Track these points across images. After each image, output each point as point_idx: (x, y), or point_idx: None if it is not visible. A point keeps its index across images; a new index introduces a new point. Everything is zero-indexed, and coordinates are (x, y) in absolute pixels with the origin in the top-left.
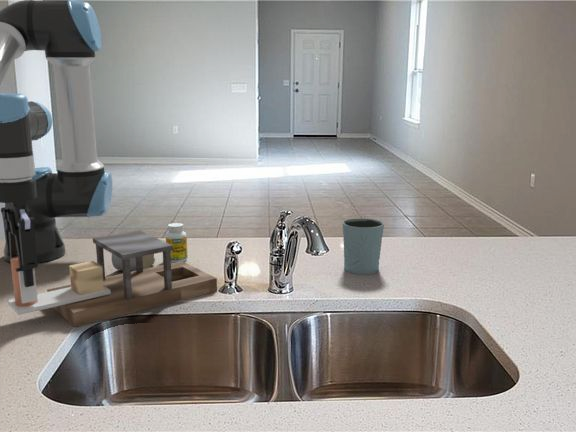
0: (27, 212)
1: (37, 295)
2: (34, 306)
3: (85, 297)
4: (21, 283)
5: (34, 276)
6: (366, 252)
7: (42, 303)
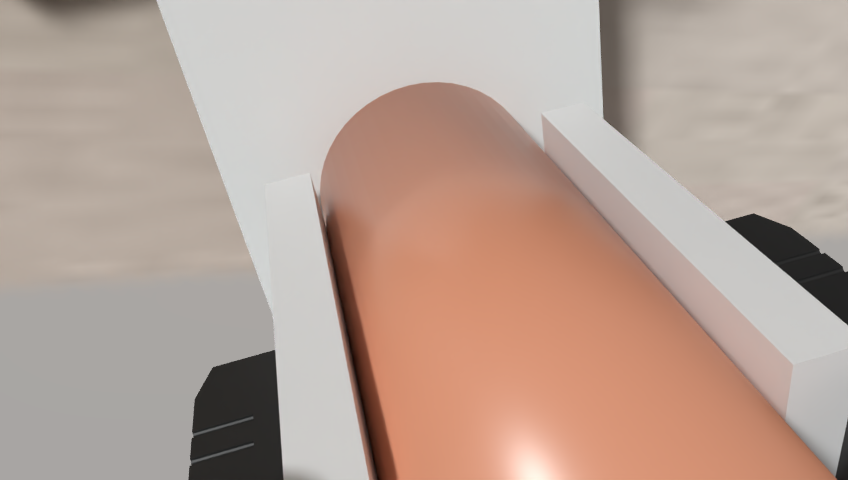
0: None
1: (242, 76)
2: None
3: None
4: None
5: (760, 257)
6: None
7: (537, 36)
